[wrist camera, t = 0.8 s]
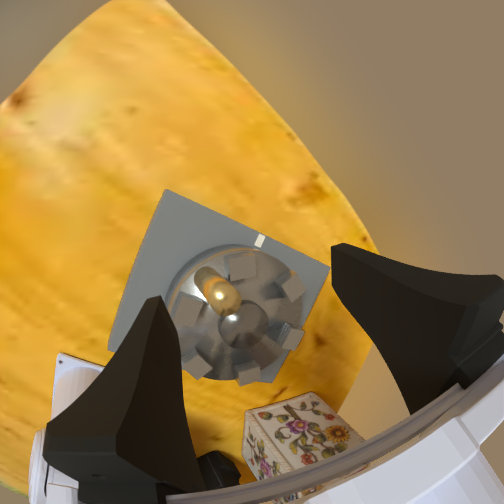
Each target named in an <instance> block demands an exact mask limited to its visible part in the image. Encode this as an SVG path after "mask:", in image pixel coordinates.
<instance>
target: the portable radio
mask: <svg viewBox="0 0 504 504" xmlns="http://www.w3.org/2000/svg"><path fill="white" fill-rule="evenodd" d="M197 462H198V465H199V468H200V471H201V474H202V477H203V480H204V483H205V486H206V489H207V491H210V490H217V489H222V488H228V487H233V486H238V485H240V483H239V478H240V477H241V475H240V473H239V471H238V469H237V468H236V466H235V464H234V463H233V462H232V461H231V460H229V459H228V458H226V457H225V456H224V455H222V454H221V453H220V452H218V451H215V452H211V453H208V454H206V455H204V456H202V457H200V458H198V459H197Z"/></svg>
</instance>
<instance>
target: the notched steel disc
mask: <svg viewBox="0 0 504 504" xmlns="http://www.w3.org/2000/svg"><path fill="white" fill-rule="evenodd" d="M305 291H306V288H305V286H304V284H303V283H302V281H301V279H300V277H299V276H298V274H297V272H295V271H293V270H291V269H289V268H288V267H287V266H286V265H285V264H284V263H283V262H281V261H280V260H278V259H276V258H275V257H273V256H271V255H269V254H267V253H265V252H263V251H261V250H259V249H256V248H254V247H251V246H247V245H242V244H227V245H221V246H216V247H213V248H210V249H208V250H205V251H203V252H201V253H200V254H198V255H196V256H195V257H193V258H192V259H191V260H189V261H188V262H187V263H186V264H185V265H184V266H183V267H182V268H181V269H180V270H179V271H178V273H177V274H176V276H175V277H174V279H173V280H172V282H171V284H170V286H169V288H168V290H167V294H166V297H165V301H164V303H165V306H166V308H167V310H168V312H169V315H170V317H171V319H172V321H173V323H174V325H175V327H176V329H177V332H178V338H179V344H180V350H181V365H182V367H183V368H184V369H185V370H186V371H187V372H188V373H190V374H191V375H192V376H193V377H194V378H195V379H197V380H198V379H200V378H201V377H202V376H203V377H205V378H209V379H214V380H234V379H235V380H236V381H237V383H238V384H239V386H243V385H246V384H249V383H252V382H255V381H258V380H260V371H261V370H262V369H264V368H266V367H267V366H269V365H270V364H271V363H272V362H274V361H275V360H276V359H277V358H278V357H279V356H280V355H281V354H282V353H283V352H284V351H285V350H286V349H289V350H294V351H295V350H296V348H297V346H298V344H299V342H300V340H301V338H302V337H303V335H304V333H305V331H303V330H302V329H301V328H300V327H298V326H299V323H300V319H301V315H302V294H303V293H304V292H305Z"/></svg>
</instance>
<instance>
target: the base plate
mask: <svg viewBox="0 0 504 504" xmlns="http://www.w3.org/2000/svg"><path fill="white" fill-rule="evenodd" d="M227 244H242V245H247V246H251V247H254V248H256V249H259V250H261V251H263V252H265V253H267V254H269V255H271V256H273V257H275V258H276V259H278V260H280V261H281V262H283V263H284V264H285V265H286V266H287V267H288V268H289V269H291V270H293V271H295V272H297V274H298V276H299V277H300V279H301V281H302V283H303V284H304V286H305V288H306V291H305V292H304V293H303V294H302V315H301V319H300V323H299V326H298V327H300V328H302V326H303V324H304V322H305V320H306V318H307V316H308V314H309V312H310V310H311V308H312V306H313V304H314V302H315V300H316V298H317V296H318V294H319V292H320V290H321V288H322V285H323V283H324V281H325V279H326V277H327V275H328V272H329V270H330V268H331V267H329V266H327V265H325V264H323V263H321V262H319V261H317V260H315V259H313V258H311V257H309V256H307V255H305V254H303V253H301V252H299V251H297V250H295V249H292V248H290V247H288V246H286V245H284V244H282V243H280V242H278V241H276V240H274V239H272V238H270V237H268V236H266V235H264V234H262V233H259V232H257V231H255V230H253V229H251V228H249V227H247V226H245V225H243V224H241V223H239V222H236V221H234V220H232V219H230V218H228V217H226V216H224V215H222V214H220V213H217V212H215V211H213V210H211V209H209V208H207V207H205V206H202V205H200V204H198V203H196V202H194V201H192V200H189V199H187V198H185V197H183V196H181V195H179V194H176V193H174V192H172V191H170V190H168V189H165V190H164V192H163V195H162V197H161V199H160V201H159V203H158V206H157V208H156V210H155V213H154V215H153V217H152V219H151V222H150V224H149V227H148V229H147V231H146V234H145V236H144V239H143V241H142V244H141V246H140V249H139V251H138V254H137V257H136V259H135V262H134V264H133V267H132V270H131V273H130V275H129V278H128V281H127V284H126V287H125V290H124V293H123V296H122V299H121V302H120V305H119V308H118V311H117V314H116V317H115V320H114V324H113V327H112V330H111V334H110V337H109V341H108V350H109V351H112V352H116V351H117V349H118V348H119V346H120V344H121V343H122V341H123V340H124V338H125V336H126V335H127V333H128V331H129V330H130V328H131V326H132V324H133V323H134V321H135V319H136V317H137V315H138V313H139V312H140V310H141V308H142V306H143V304H144V303H145V301H146V299H148V298H151V297H155V296H159V295H161V297H162V299H163V301H165V297H166V294H167V290H168V288H169V286H170V284H171V282H172V280H173V279H174V277H175V276H176V274H177V273H178V271H179V270H180V269H181V268H182V267H183V266H184V265H185V264H186V263H187V262H188V261H189V260H191V259H192V258H193V257H195V256H196V255H198V254H200V253H201V252H203V251H205V250H208V249H210V248H213V247H216V246H221V245H227ZM289 351H290V350H289V349H286V350H285V351H284V352H283V353H282V354H281V355H280V356H279V357H278V358H277V359H276V360H275V361H274V362H272V363H271V364H270V365H269V366H267V367H266V368H264V369H262V370H261V371H260V380H258V382H266V383H272V382H273V380H274V379H275V377H276V375H277V373H278V371H279V370H280V368H281V366H282V364H283V362H284V361H285V359H286V357H287V355H288V353H289ZM182 369H183V370H185V369H184V368H183V367H182Z"/></svg>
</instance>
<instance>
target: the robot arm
mask: <svg viewBox="0 0 504 504" xmlns="http://www.w3.org/2000/svg"><path fill="white" fill-rule="evenodd" d="M331 270H332V287H333V288H334V290H335V292H336V294H337V295H338V297H339V299H340V300H341V302H342V303H343V305H344V306H345V307H346V308H347V310H348V311H349V312H350V313H351V315H352V316H353V317H354V318H355V319H356V321H357V322H358V323H359V324H360V326H361V327H362V328H363V329H364V331H365V332H366V333H367V334H368V336H369V337H370V338H371V340H372V341H373V342H374V344H375V345H376V347H377V349H378V350H379V352H380V353H381V355H382V357H383V358H384V360H385V362H386V363H387V366H388V367H389V369H390V371H391V373H392V375H393V377H394V379H395V381H396V383H397V385H398V387H399V389H400V391H401V393H402V396H403V398H404V400H405V403H406V405H407V408H408V410H409V413H410V416H409V417H408V418H406V419H404V420H403V421H401V422H399V423H398V424H396V425H394V426H392V427H391V428H389V429H387V430H385V431H383V432H382V433H380V434H378V435H376V436H374V437H372V438H370V439H368V440H366V441H364V442H362V443H360V444H358V445H356V446H354V447H352V448H349V449H347V450H345V451H343V452H340V453H338V454H336V455H333V456H331V457H329V458H326V459H324V460H321V461H318V462H316V463H313V464H310V465H308V466H305V467H302V468H299V469H296V470H293V471H290V472H287V473H284V474H280V475H277V476H274V477H270V478H267V479H263V480H259V481H255V482H251V483H247V484H242V485H238V486H233V487H228V488H222V489H217V490H210V491H207V489H206V486H205V483H204V480H203V477H202V474H201V471H200V468H199V465H198V462H197V459H196V455H195V452H194V448H193V444H192V440H191V436H190V432H189V428H188V423H187V418H186V413H185V408H184V400H183V385H182V365H181V350H180V344H179V338H178V332H177V329H176V327H175V325H174V323H173V321H172V319H171V317H170V315H169V312H168V310H167V308H166V306H165V303H164V301H163V299H162V297H161V295H159V296H155V297H151V298H148V299H146V301H145V303H144V304H143V306H142V308H141V310H140V312H139V313H138V315H137V317H136V319H135V321H134V323H133V324H132V326H131V328H130V330H129V331H128V333H127V335H126V336H125V338H124V340H123V341H122V343H121V344H120V346H119V348H118V349H117V351H116V352H115V354H114V355H113V357H112V358H111V360H110V361H109V362H108V364H107V365H106V366H105V367H103V366H100V365H96V364H93V363H90V362H87V361H84V360H81V359H78V358H75V357H72V356H69V355H66V354H64V353H59V354H58V356H57V362H56V369H55V378H54V388H53V400H52V415H51V421H50V422H48V423H47V426H46V429H45V428H42V430H39V431H37V432H36V434H35V438H34V442H33V447H32V452H31V459H30V467H29V502H30V503H31V504H259V503H263V502H267V501H271V500H275V499H278V498H282V497H285V496H288V495H292V494H295V493H298V492H301V491H304V490H307V489H310V488H313V487H315V486H318V485H321V484H323V483H326V482H328V481H331V480H333V479H336V478H338V477H340V476H343V475H345V474H347V473H350V472H352V471H354V470H356V469H358V468H360V467H362V466H364V465H366V464H368V463H370V462H372V461H374V460H376V459H378V458H380V457H382V456H384V455H385V454H387V453H389V452H391V451H393V450H394V449H396V448H398V447H399V446H401V445H403V444H404V443H406V442H407V441H409V440H411V439H412V438H414V437H415V436H417V435H419V434H420V433H421V434H420V436H419V438H418V439H417V440H415V441H414V442H412V443H411V444H409V445H408V446H406V447H404V448H403V449H401V450H399V451H398V452H396V453H394V454H392V455H391V456H389V457H387V458H385V459H383V460H382V461H380V462H378V463H376V464H374V465H372V466H370V467H368V468H366V469H364V470H362V471H360V472H358V473H356V474H354V475H351V476H349V477H347V478H345V479H343V480H341V481H339V482H336V483H334V484H332V485H330V486H327V487H325V488H323V489H322V490H319V491H317V492H314V493H312V494H309V495H307V496H304V497H301V498H299V499H296V500H293V501H290V502H287V503H284V504H504V486H503V485H502V483H501V482H500V480H499V478H498V477H497V475H496V474H495V472H494V471H493V469H492V468H491V466H490V465H489V463H488V462H487V460H486V459H485V457H484V456H483V454H482V453H481V451H480V450H479V448H480V444H481V443H482V442H483V441H484V440H485V439H486V438H487V437H488V436H489V435H490V434H491V433H492V432H493V431H494V430H495V429H496V428H497V426H498V425H499V424H500V423H501V422H502V421H503V420H504V333H503V332H502V331H501V330H502V329H503V325H502V324H501V323H500V322H499V319H500V317H501V315H502V313H503V310H504V280H503V279H502V278H500V277H499V276H497V275H463V274H451V273H444V272H438V271H432V270H427V269H423V268H419V267H415V266H411V265H407V264H404V263H401V262H398V261H395V260H392V259H389V258H386V257H383V256H380V255H377V254H375V253H372V252H369V251H367V250H364V249H361V248H358V247H356V246H353V245H349V244H346V243H341V244H338V245H334V246H331ZM59 360H61V361H63V362H60V361H59Z"/></svg>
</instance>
